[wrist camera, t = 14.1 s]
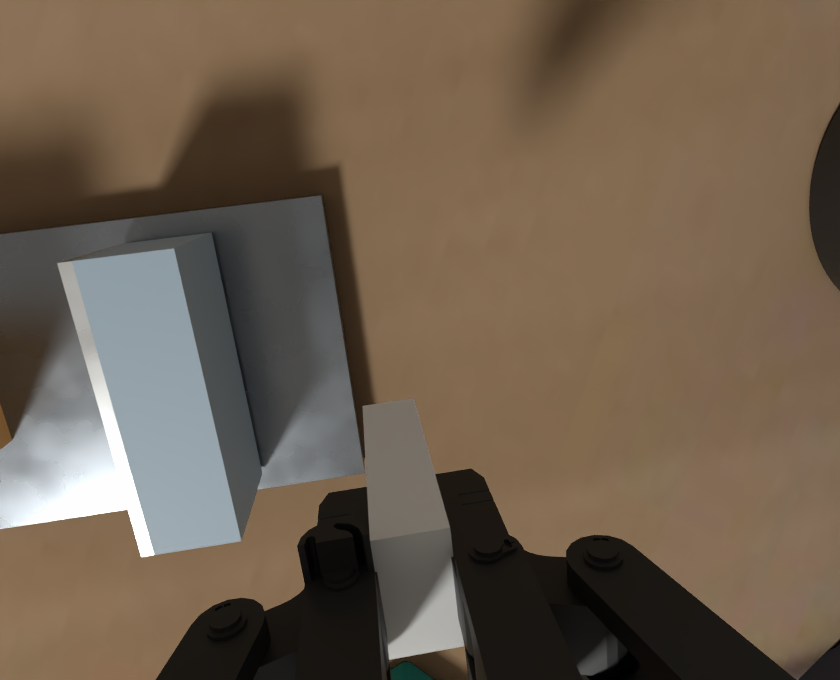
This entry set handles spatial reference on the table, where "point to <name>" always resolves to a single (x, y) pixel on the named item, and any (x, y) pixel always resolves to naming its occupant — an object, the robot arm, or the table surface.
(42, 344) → the vise base
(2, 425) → the light orange block
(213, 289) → the block
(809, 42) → the table surface
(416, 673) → the digital multimeter
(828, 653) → the calculator
